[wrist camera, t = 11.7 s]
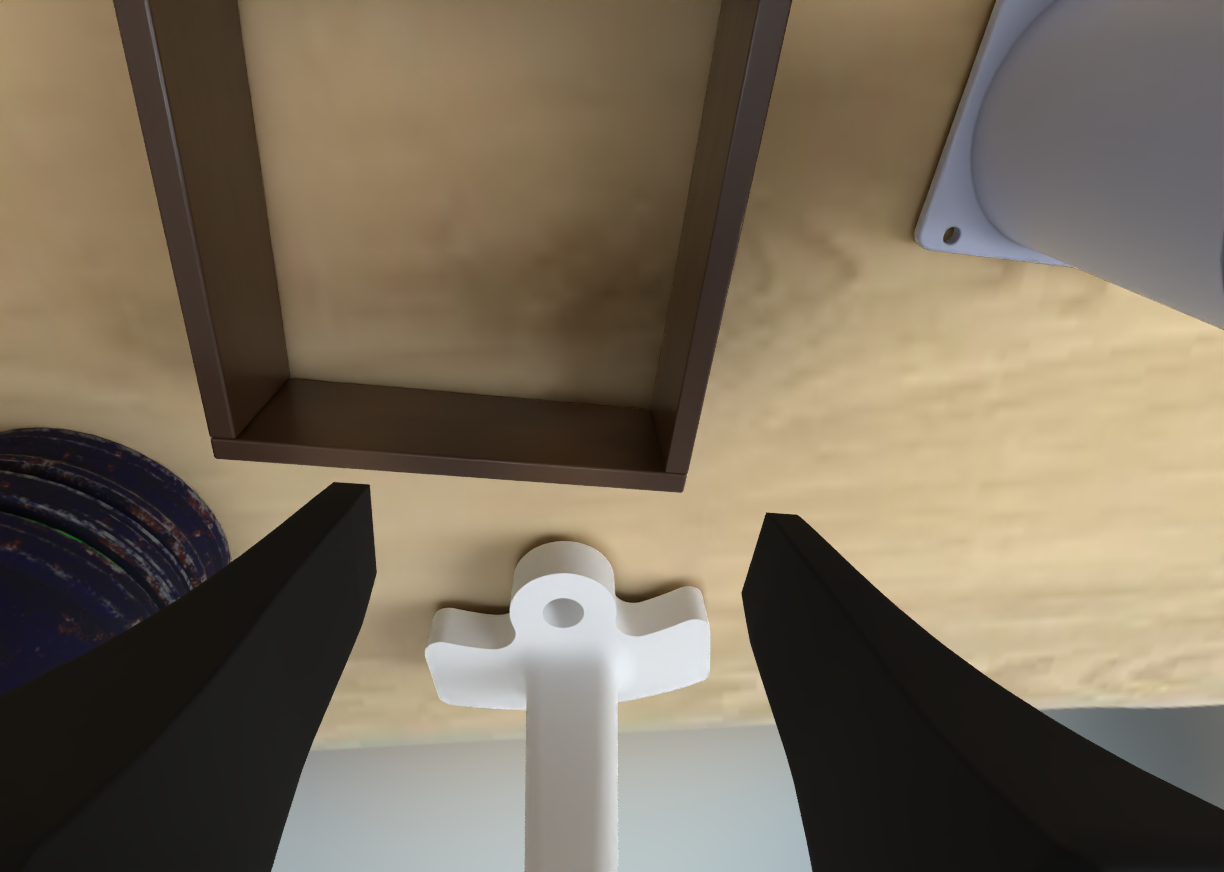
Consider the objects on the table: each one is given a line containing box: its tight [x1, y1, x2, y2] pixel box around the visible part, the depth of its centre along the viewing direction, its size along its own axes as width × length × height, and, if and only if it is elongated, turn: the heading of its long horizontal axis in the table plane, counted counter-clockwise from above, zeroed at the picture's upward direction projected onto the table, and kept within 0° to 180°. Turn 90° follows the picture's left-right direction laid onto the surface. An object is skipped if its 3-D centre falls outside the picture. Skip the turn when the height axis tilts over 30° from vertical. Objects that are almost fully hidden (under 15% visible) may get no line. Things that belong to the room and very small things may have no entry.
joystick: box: [425, 541, 710, 872], centre depth 18 cm, size 11×8×20 cm
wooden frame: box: [113, 0, 792, 493], centre depth 17 cm, size 13×13×4 cm
